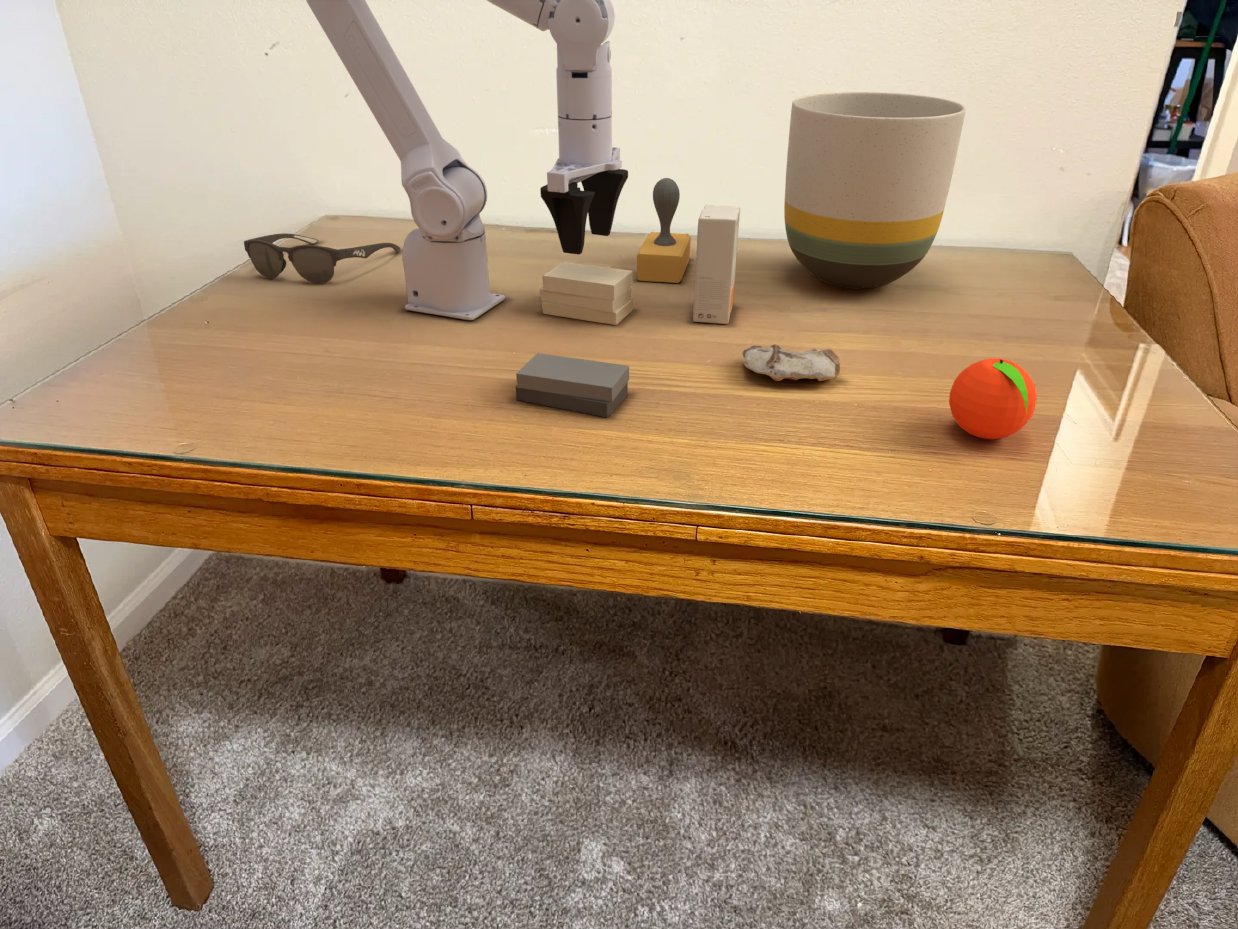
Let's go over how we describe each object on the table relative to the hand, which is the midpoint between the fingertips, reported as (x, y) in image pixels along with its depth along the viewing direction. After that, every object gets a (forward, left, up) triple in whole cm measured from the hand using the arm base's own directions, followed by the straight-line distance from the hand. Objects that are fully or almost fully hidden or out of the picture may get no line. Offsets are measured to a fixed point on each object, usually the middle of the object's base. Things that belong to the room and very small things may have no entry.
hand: (587, 243), depth 96 cm
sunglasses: (-41, +3, -8) cm, 42 cm away
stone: (+26, -8, -8) cm, 28 cm away
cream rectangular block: (0, 0, -5) cm, 5 cm away
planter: (+27, +23, -8) cm, 36 cm away
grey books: (+8, -21, -8) cm, 24 cm away
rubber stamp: (+3, +18, -8) cm, 20 cm away
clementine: (+45, -14, -8) cm, 48 cm away
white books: (0, 0, -8) cm, 8 cm away
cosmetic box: (+14, +5, -8) cm, 17 cm away
